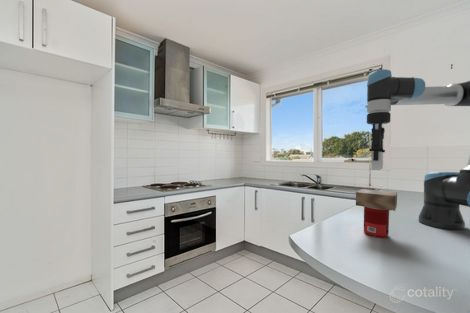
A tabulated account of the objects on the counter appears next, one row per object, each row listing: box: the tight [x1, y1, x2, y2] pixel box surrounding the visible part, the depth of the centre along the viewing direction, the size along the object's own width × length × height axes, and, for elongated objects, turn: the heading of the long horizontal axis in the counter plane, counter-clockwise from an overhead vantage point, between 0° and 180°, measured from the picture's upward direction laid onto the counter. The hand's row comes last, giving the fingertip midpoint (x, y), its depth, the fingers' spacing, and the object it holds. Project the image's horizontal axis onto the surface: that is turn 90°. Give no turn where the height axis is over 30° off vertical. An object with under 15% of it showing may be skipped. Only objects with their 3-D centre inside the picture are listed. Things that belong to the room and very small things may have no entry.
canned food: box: [363, 207, 390, 239], centre depth 85 cm, size 8×8×11 cm
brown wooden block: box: [355, 188, 398, 212], centre depth 85 cm, size 12×11×5 cm
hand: (377, 169), depth 84 cm, fingers open, 13 cm apart
